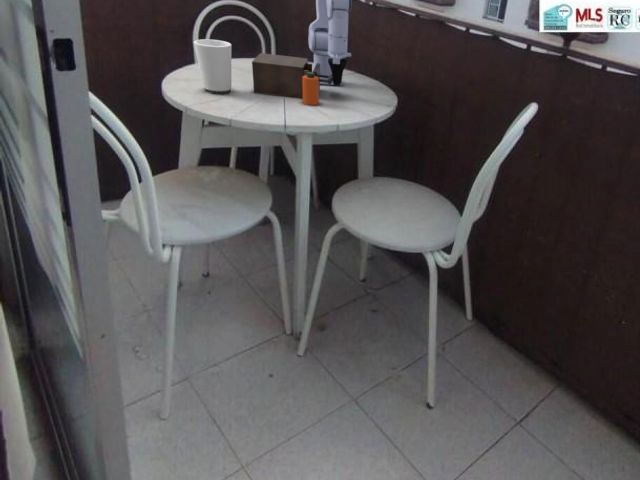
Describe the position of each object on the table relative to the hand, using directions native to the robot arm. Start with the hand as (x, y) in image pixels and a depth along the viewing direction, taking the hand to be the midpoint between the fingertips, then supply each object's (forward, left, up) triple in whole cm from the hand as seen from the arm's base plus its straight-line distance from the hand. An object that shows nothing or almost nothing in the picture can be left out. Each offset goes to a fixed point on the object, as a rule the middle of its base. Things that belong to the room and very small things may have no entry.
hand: (337, 84), depth 159 cm
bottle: (+9, +10, -3) cm, 14 cm away
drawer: (+10, -2, -2) cm, 11 cm away
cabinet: (+17, -3, -3) cm, 17 cm away
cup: (+35, +3, -4) cm, 36 cm away
